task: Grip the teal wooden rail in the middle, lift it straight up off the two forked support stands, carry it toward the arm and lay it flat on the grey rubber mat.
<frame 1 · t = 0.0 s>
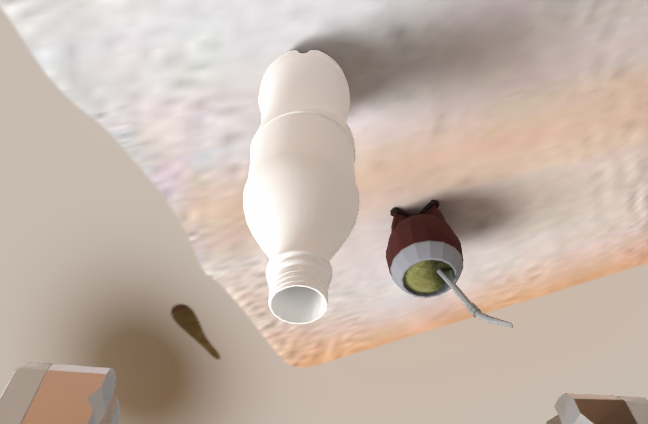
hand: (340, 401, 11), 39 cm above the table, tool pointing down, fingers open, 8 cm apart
mate gourd: (421, 218, 59), on the table
water bottle: (305, 78, 49), on the table
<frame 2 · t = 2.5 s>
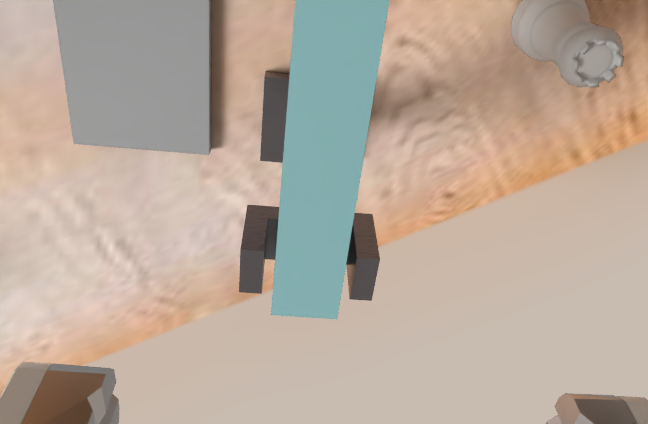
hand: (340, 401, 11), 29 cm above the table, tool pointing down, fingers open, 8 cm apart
rail: (326, 82, 23), point 14 cm above the table, touching forked support stand
rook chess piece: (543, 18, 36), on the table
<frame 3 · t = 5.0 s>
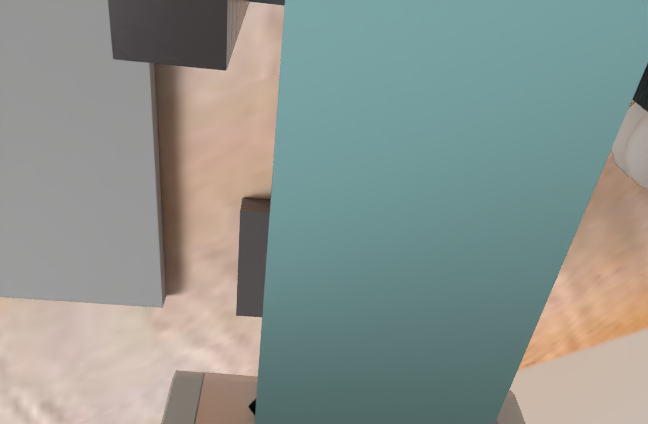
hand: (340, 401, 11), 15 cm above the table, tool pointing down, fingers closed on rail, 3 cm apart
forked support stand: (323, 96, 23), on the table
mat: (34, 68, 22), on the table
rail: (339, 376, 11), point 14 cm above the table, touching gripper, forked support stand
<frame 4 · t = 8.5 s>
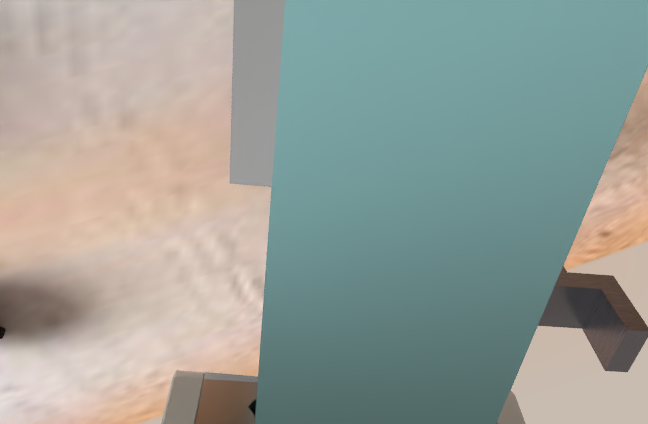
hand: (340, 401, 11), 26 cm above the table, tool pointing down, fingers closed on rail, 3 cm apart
forked support stand: (509, 33, 33), on the table
mat: (317, 13, 32), on the table
rail: (339, 378, 11), point 26 cm above the table, touching gripper
when the fingers open (3 cm above the table, at t = 12.1 s): rail drops 2 cm, resting on mat.
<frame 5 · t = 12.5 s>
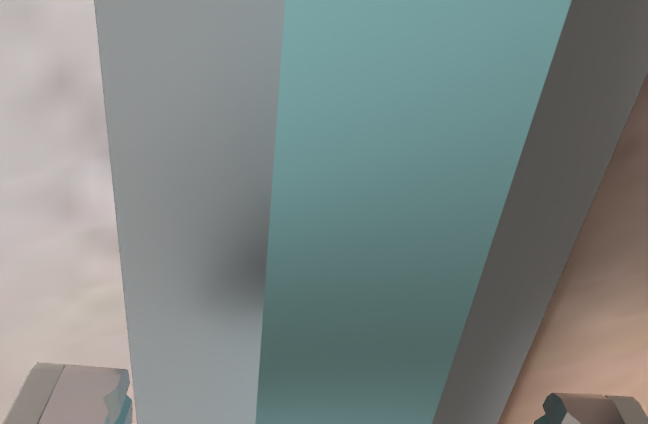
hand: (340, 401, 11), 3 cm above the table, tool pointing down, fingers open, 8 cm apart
mat: (335, 290, 13), on the table
rail: (334, 317, 13), point 1 cm above the table, touching mat
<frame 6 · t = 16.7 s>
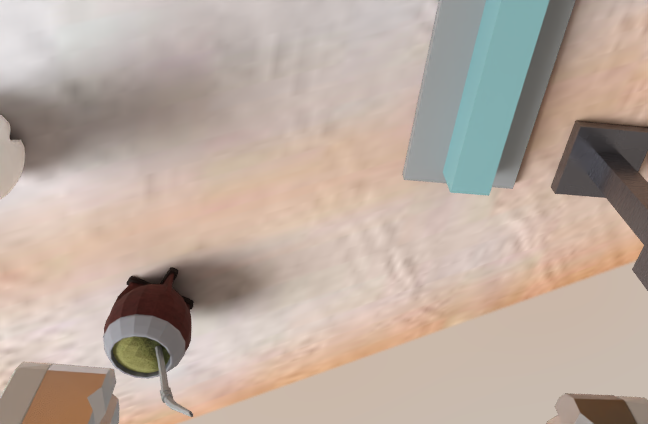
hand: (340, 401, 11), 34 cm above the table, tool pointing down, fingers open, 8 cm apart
forked support stand: (638, 61, 43), on the table
mate gourd: (166, 287, 54), on the table
mat: (492, 46, 42), on the table
rail: (494, 51, 41), point 1 cm above the table, touching mat
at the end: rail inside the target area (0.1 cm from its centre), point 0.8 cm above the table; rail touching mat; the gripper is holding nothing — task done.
